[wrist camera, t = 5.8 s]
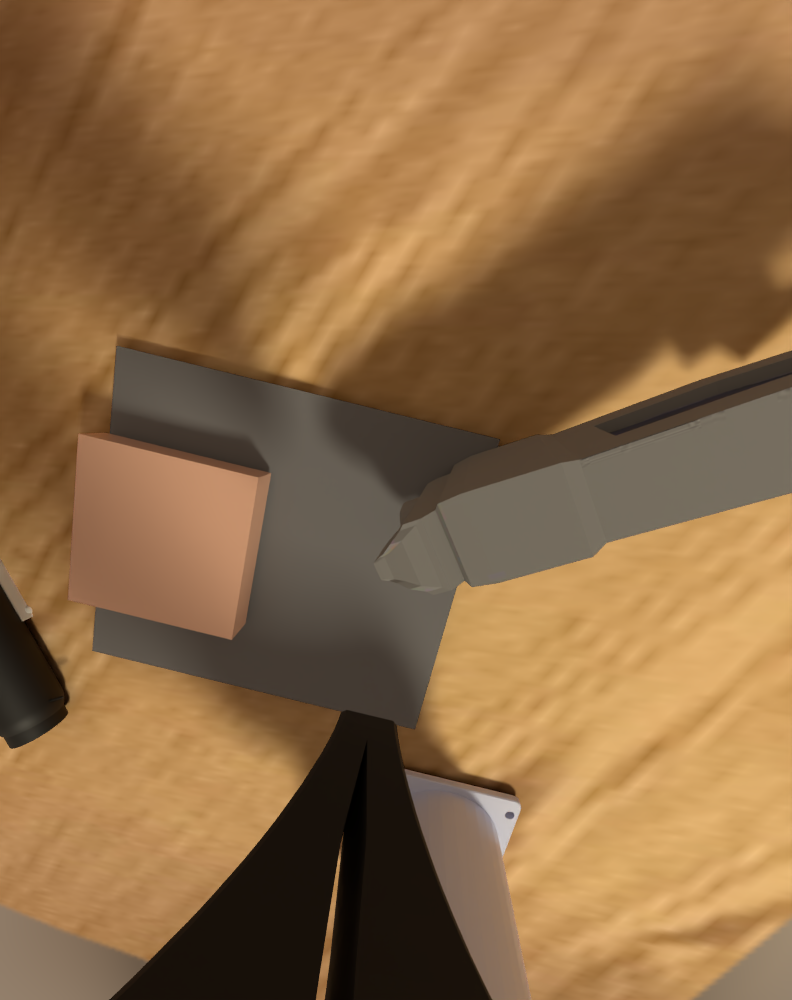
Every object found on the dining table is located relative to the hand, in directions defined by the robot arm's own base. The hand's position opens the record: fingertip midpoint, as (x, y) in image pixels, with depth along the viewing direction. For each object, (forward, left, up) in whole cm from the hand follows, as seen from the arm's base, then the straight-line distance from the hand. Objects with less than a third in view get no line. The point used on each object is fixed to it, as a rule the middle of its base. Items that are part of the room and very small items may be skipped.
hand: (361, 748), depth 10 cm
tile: (0, +7, -9) cm, 11 cm away
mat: (0, +6, -10) cm, 12 cm away
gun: (+11, -10, -10) cm, 18 cm away
